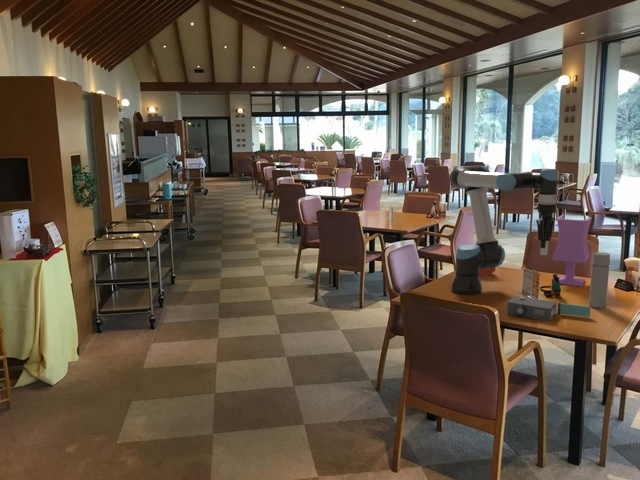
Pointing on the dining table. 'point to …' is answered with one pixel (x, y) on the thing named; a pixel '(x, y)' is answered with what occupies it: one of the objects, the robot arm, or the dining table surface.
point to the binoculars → (553, 288)
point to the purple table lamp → (572, 247)
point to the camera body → (532, 308)
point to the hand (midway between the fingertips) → (543, 254)
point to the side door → (573, 310)
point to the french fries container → (486, 271)
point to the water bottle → (599, 280)
